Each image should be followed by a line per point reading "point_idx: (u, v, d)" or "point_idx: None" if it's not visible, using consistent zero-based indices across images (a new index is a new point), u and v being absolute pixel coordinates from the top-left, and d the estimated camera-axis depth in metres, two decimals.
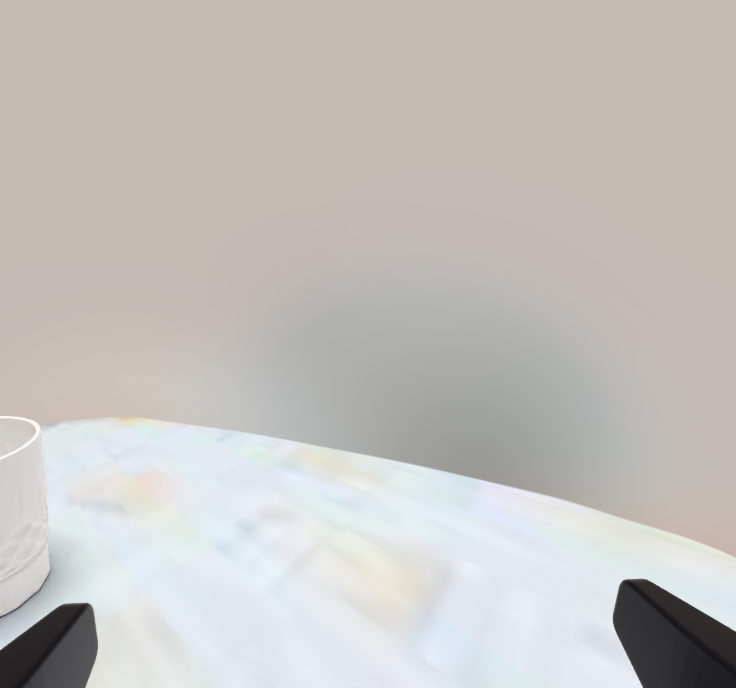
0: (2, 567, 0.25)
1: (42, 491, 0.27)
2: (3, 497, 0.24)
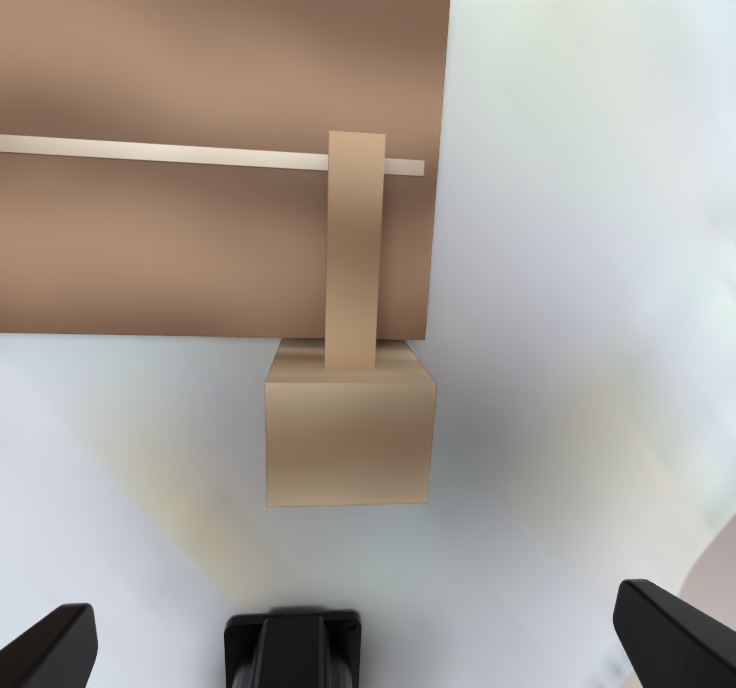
0: None
1: None
2: None
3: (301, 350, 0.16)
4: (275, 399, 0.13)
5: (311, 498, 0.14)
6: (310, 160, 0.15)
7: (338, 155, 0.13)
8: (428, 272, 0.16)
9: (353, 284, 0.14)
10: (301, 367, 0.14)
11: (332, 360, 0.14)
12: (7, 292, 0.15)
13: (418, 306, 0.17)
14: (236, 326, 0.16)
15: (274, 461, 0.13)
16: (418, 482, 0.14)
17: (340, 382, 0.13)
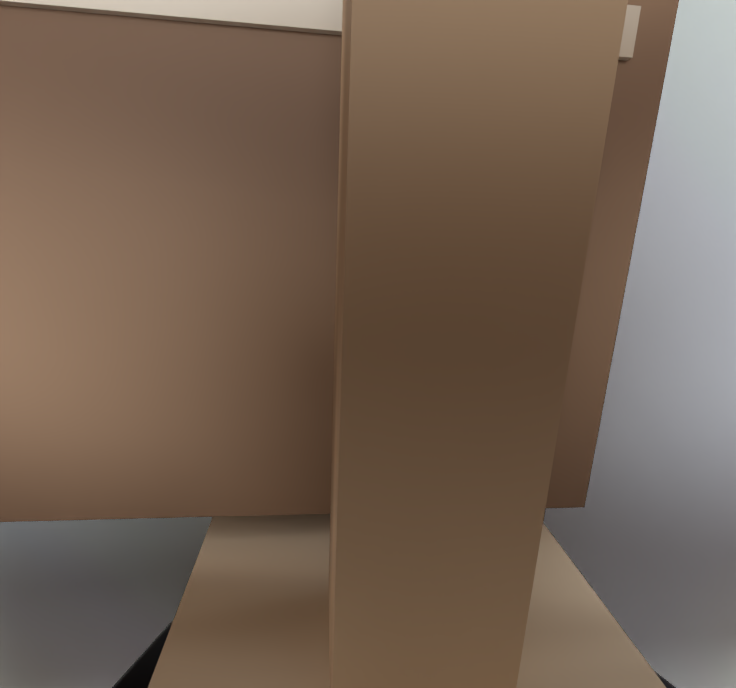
0: None
1: None
2: None
3: (264, 559, 0.06)
4: None
5: None
6: None
7: None
8: (610, 340, 0.06)
9: (453, 452, 0.03)
10: None
11: None
12: None
13: (576, 427, 0.06)
14: (81, 494, 0.06)
15: None
16: None
17: None
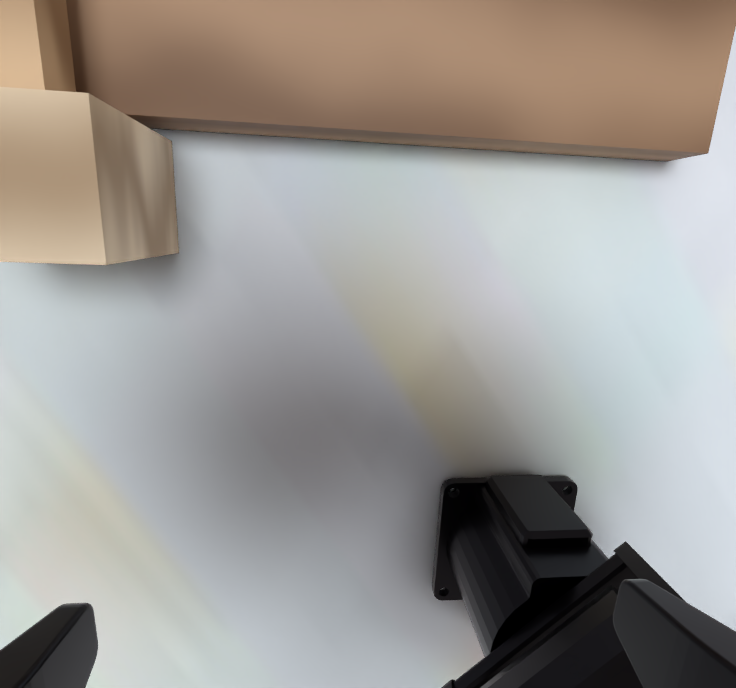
0: None
1: None
2: None
3: None
4: None
5: None
6: None
7: None
8: (723, 75, 0.16)
9: None
10: None
11: None
12: (307, 79, 0.14)
13: (707, 113, 0.16)
14: (526, 129, 0.15)
15: None
16: (89, 234, 0.11)
17: None
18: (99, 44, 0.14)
